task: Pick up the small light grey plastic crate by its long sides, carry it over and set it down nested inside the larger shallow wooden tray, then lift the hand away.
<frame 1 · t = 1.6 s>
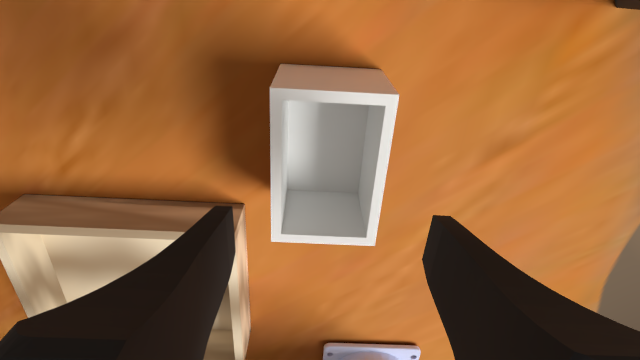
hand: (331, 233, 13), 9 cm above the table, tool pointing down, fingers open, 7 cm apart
small crate: (326, 136, 21), on the table
shallow wooden tray: (150, 269, 26), on the table
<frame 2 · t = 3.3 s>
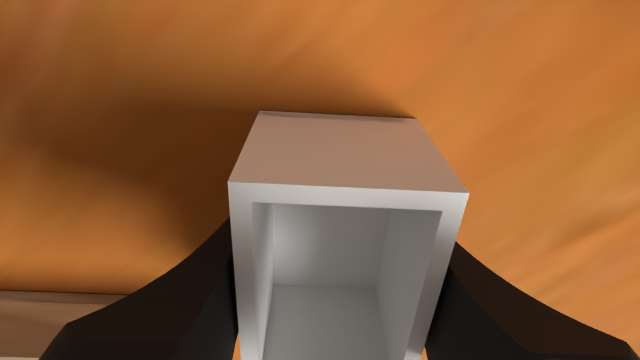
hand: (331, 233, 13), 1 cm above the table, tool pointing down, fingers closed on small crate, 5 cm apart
small crate: (330, 211, 14), on the table, touching gripper
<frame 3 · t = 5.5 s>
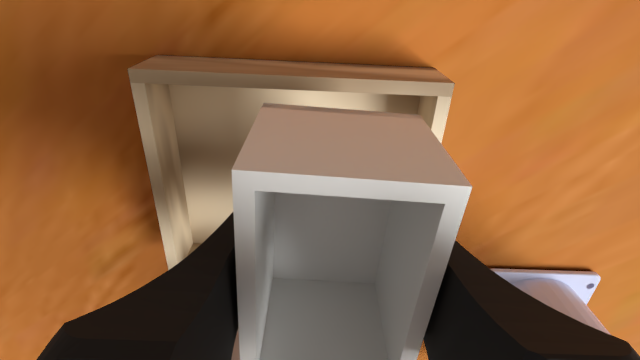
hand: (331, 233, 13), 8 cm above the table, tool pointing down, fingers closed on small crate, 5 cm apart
small crate: (331, 206, 14), point 7 cm above the table, touching gripper
shallow wooden tray: (295, 167, 21), on the table
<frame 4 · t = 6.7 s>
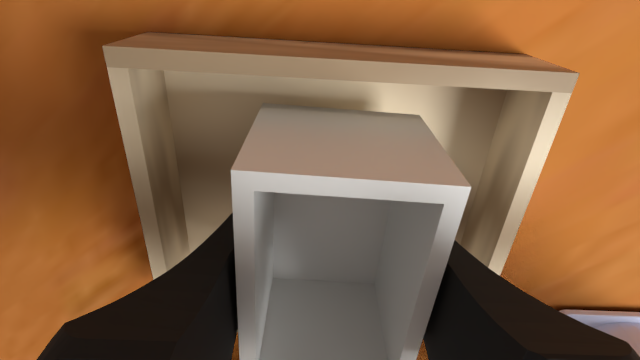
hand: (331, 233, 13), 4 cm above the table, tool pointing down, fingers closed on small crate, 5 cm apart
small crate: (331, 206, 14), point 2 cm above the table, touching gripper
shallow wooden tray: (328, 184, 16), on the table
when the fingers open (4 cm above the table, at t = 7.6 s): small crate drops 1 cm, resting on shallow wooden tray.
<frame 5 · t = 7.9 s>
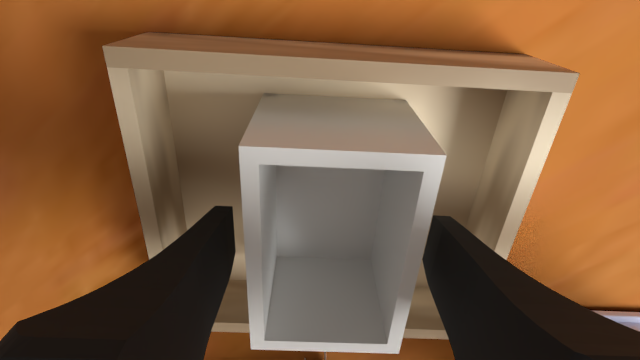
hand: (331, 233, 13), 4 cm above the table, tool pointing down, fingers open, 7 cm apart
small crate: (328, 187, 16), point 1 cm above the table, touching shallow wooden tray
shallow wooden tray: (328, 184, 16), on the table
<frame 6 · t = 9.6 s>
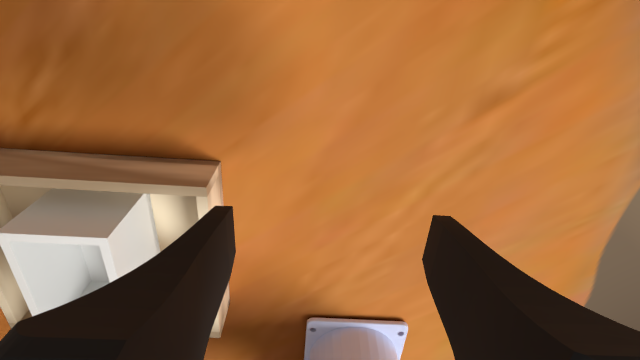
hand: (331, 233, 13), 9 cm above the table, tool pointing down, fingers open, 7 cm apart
small crate: (116, 237, 24), point 1 cm above the table, touching shallow wooden tray
shallow wooden tray: (122, 234, 25), on the table
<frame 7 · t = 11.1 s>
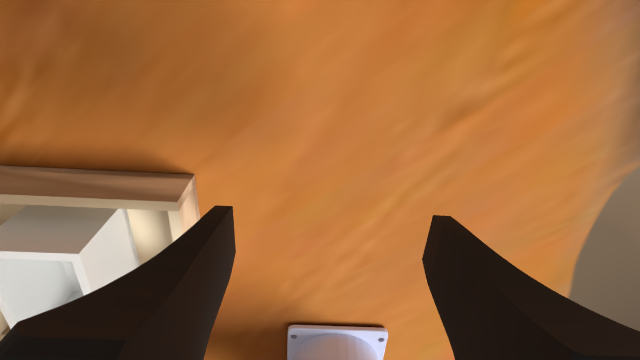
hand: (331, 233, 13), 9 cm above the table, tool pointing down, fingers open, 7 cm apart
small crate: (96, 249, 25), point 1 cm above the table, touching shallow wooden tray
shallow wooden tray: (102, 246, 25), on the table
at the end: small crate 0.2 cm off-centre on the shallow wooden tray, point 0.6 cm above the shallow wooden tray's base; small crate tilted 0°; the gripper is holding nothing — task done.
